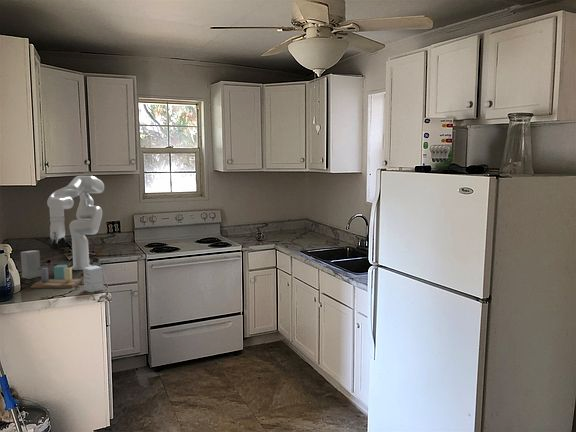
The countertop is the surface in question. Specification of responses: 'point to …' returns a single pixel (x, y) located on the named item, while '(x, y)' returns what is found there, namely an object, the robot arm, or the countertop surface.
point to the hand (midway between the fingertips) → (59, 248)
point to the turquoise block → (59, 271)
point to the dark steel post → (44, 275)
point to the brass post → (68, 275)
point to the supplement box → (93, 278)
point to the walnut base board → (56, 283)
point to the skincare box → (30, 264)
